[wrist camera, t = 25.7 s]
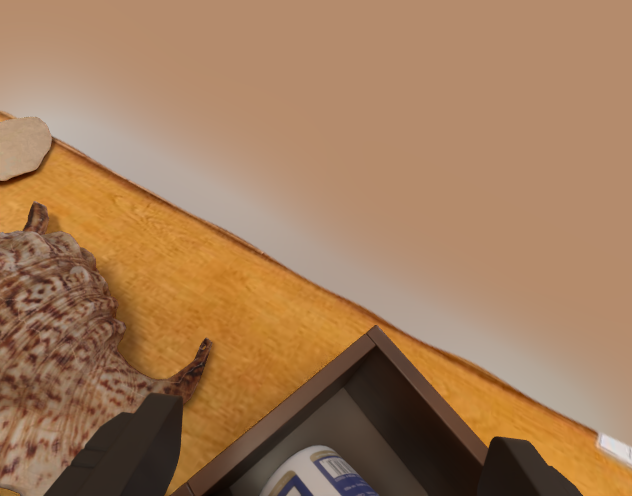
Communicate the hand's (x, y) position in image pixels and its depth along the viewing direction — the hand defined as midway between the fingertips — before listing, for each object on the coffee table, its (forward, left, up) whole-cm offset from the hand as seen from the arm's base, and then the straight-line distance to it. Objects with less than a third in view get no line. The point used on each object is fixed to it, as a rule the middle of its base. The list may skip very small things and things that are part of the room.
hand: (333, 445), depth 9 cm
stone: (-35, +22, -17) cm, 44 cm away
